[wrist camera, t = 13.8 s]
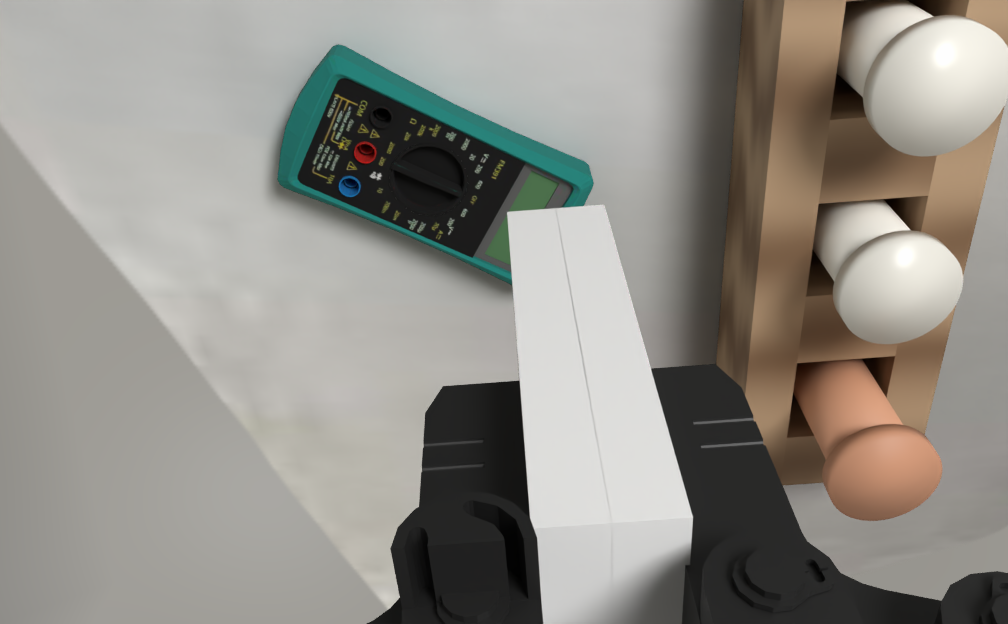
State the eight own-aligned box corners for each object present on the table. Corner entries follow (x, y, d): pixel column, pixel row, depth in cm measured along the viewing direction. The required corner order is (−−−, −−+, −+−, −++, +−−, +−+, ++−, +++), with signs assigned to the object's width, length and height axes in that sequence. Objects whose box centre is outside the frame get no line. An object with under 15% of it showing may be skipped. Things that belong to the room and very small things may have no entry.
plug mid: (785, 160, 45) (849, 246, 37) (890, 152, 45) (974, 236, 37) (775, 251, 48) (833, 348, 40) (873, 243, 48) (949, 339, 40)
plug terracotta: (779, 331, 48) (837, 442, 41) (876, 324, 48) (952, 434, 41) (770, 407, 51) (822, 524, 43) (862, 400, 51) (930, 516, 43)
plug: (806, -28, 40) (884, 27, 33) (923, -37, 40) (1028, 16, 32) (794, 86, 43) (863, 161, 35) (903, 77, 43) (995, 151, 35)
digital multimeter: (325, 32, 43) (316, 50, 40) (595, 162, 47) (602, 186, 44) (273, 161, 46) (261, 185, 44) (528, 272, 50) (531, 300, 48)
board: (752, -111, 39) (793, -88, 34) (981, -129, 39) (1056, -109, 34) (711, 420, 56) (736, 488, 50) (873, 408, 55) (914, 476, 50)
